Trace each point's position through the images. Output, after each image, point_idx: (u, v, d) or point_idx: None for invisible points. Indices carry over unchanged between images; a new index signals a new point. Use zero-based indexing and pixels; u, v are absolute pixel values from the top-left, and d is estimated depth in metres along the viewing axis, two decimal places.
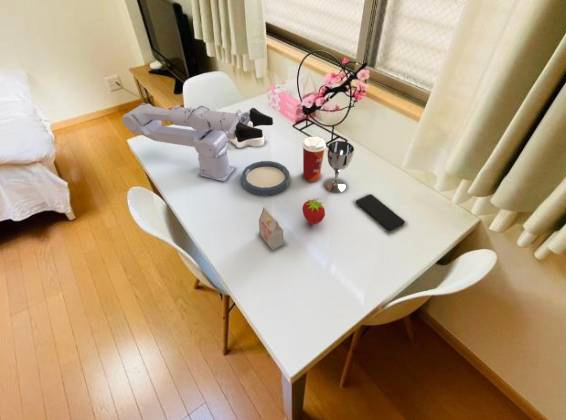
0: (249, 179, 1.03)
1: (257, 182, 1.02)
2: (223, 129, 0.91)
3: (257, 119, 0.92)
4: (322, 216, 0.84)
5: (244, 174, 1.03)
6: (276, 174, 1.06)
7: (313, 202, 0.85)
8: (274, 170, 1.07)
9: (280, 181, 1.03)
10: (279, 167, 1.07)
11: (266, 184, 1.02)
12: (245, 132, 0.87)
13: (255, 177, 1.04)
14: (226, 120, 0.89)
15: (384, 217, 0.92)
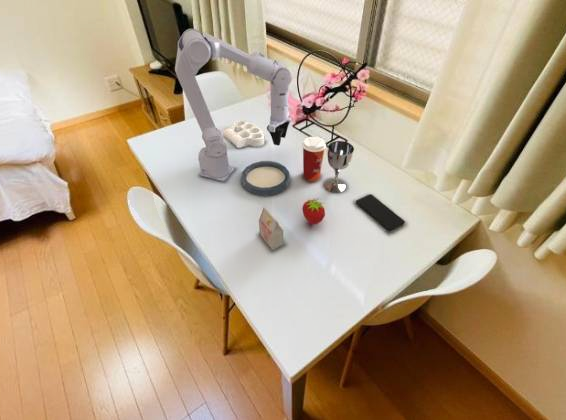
0: (249, 179, 1.03)
1: (257, 182, 1.02)
2: (273, 107, 0.97)
3: (282, 125, 1.06)
4: (322, 216, 0.84)
5: (244, 174, 1.03)
6: (276, 174, 1.06)
7: (313, 202, 0.85)
8: (274, 170, 1.07)
9: (280, 181, 1.03)
10: (279, 167, 1.07)
11: (266, 184, 1.02)
12: (275, 132, 1.02)
13: (255, 177, 1.04)
14: (282, 113, 0.98)
15: (384, 217, 0.92)
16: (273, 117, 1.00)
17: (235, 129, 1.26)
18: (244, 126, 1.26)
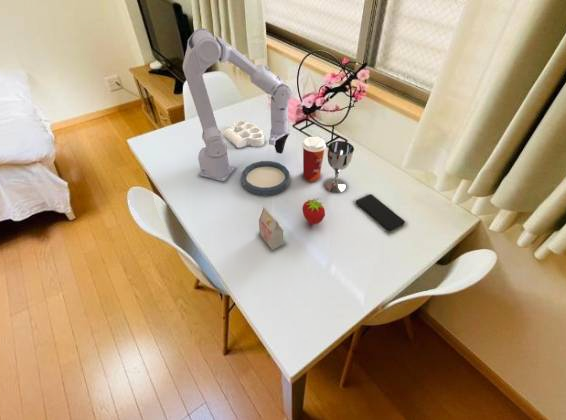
0: (249, 179, 1.03)
1: (257, 182, 1.02)
2: (273, 121, 1.00)
3: (279, 140, 1.08)
4: (322, 216, 0.84)
5: (244, 174, 1.03)
6: (276, 174, 1.06)
7: (313, 202, 0.85)
8: (274, 170, 1.07)
9: (280, 181, 1.03)
10: (279, 167, 1.07)
11: (266, 184, 1.02)
12: (278, 141, 1.07)
13: (255, 177, 1.04)
14: (282, 126, 1.01)
15: (384, 217, 0.92)
16: (273, 130, 1.03)
17: (235, 129, 1.26)
18: (244, 126, 1.26)
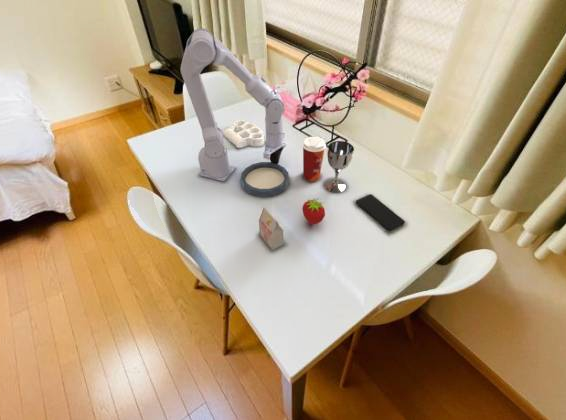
0: (248, 181, 1.03)
1: (256, 183, 1.02)
2: (268, 134, 0.99)
3: None
4: (322, 216, 0.84)
5: (243, 175, 1.02)
6: (276, 175, 1.06)
7: (313, 202, 0.85)
8: (274, 171, 1.07)
9: (279, 182, 1.02)
10: (278, 168, 1.07)
11: (265, 185, 1.01)
12: (273, 154, 1.06)
13: (254, 178, 1.04)
14: (276, 139, 1.00)
15: (384, 217, 0.92)
16: (268, 143, 1.01)
17: (235, 129, 1.26)
18: (244, 126, 1.26)
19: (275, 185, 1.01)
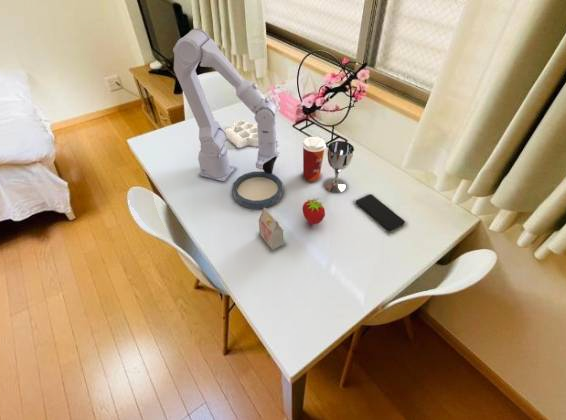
0: (240, 191, 0.99)
1: (248, 194, 0.98)
2: (260, 143, 0.95)
3: None
4: (322, 216, 0.84)
5: (235, 186, 0.98)
6: (269, 185, 1.01)
7: (313, 202, 0.85)
8: (267, 181, 1.03)
9: (273, 193, 0.98)
10: (272, 178, 1.03)
11: (258, 196, 0.97)
12: (266, 163, 1.02)
13: (247, 189, 1.00)
14: (269, 149, 0.95)
15: (384, 217, 0.92)
16: (261, 153, 0.97)
17: (235, 129, 1.26)
18: (244, 126, 1.26)
19: (268, 196, 0.97)
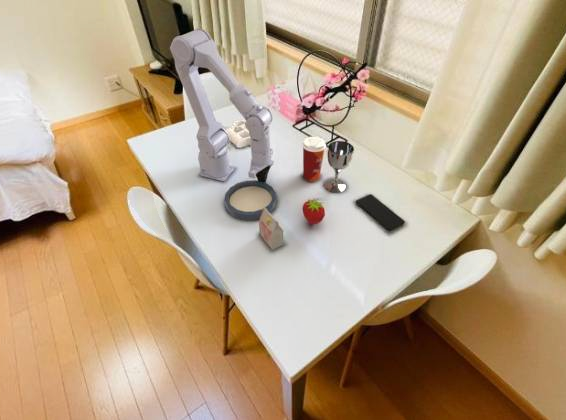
0: (233, 202, 0.95)
1: (241, 205, 0.94)
2: (253, 152, 0.91)
3: None
4: (322, 216, 0.84)
5: (227, 196, 0.95)
6: (263, 195, 0.98)
7: (313, 202, 0.85)
8: (261, 190, 0.99)
9: (266, 203, 0.95)
10: (266, 187, 0.99)
11: (251, 207, 0.94)
12: (260, 172, 0.98)
13: (239, 199, 0.96)
14: (263, 158, 0.92)
15: (384, 217, 0.92)
16: (254, 161, 0.94)
17: (235, 129, 1.26)
18: (244, 126, 1.26)
19: (261, 207, 0.94)
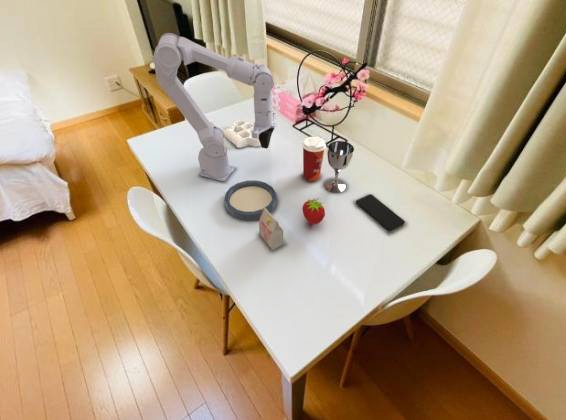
0: (233, 202, 0.95)
1: (241, 205, 0.94)
2: (256, 112, 0.93)
3: None
4: (322, 216, 0.84)
5: (227, 196, 0.95)
6: (263, 195, 0.98)
7: (313, 202, 0.85)
8: (261, 191, 0.99)
9: (266, 203, 0.95)
10: (266, 187, 0.99)
11: (251, 207, 0.94)
12: (263, 135, 1.00)
13: (239, 199, 0.96)
14: (266, 118, 0.93)
15: (384, 217, 0.92)
16: (257, 123, 0.95)
17: (235, 129, 1.26)
18: (244, 126, 1.26)
19: (261, 207, 0.94)
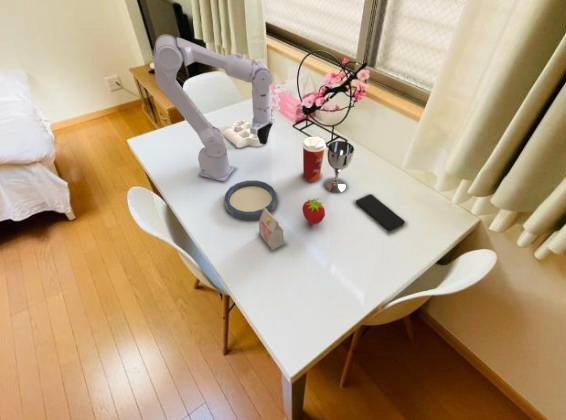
0: (233, 202, 0.95)
1: (241, 205, 0.94)
2: (255, 108, 0.94)
3: (263, 130, 1.02)
4: (322, 216, 0.84)
5: (227, 196, 0.95)
6: (263, 195, 0.98)
7: (313, 202, 0.85)
8: (261, 191, 0.99)
9: (266, 203, 0.95)
10: (266, 187, 0.99)
11: (251, 207, 0.94)
12: (261, 131, 1.01)
13: (239, 199, 0.96)
14: (264, 114, 0.95)
15: (384, 217, 0.92)
16: (255, 119, 0.96)
17: (235, 129, 1.26)
18: (244, 126, 1.26)
19: (261, 207, 0.94)
